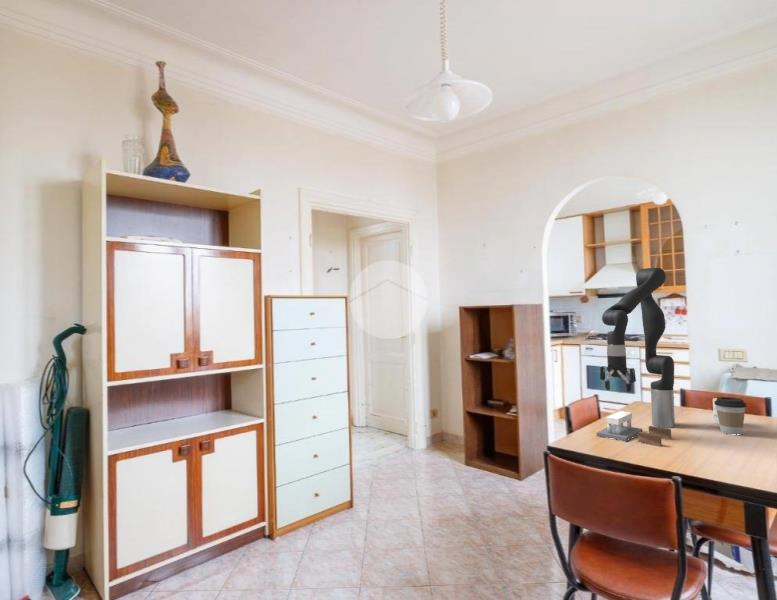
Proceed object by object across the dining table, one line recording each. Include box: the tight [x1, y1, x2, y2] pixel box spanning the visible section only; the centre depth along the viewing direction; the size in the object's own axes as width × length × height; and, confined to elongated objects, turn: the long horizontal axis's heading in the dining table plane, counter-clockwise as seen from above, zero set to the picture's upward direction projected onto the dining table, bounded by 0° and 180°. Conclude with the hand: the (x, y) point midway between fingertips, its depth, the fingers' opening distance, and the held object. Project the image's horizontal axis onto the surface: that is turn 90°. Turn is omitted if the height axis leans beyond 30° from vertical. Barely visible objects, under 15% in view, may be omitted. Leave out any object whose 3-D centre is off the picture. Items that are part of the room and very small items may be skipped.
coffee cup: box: [714, 396, 747, 436], centre depth 193 cm, size 11×11×15 cm
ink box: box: [712, 397, 720, 425], centre depth 206 cm, size 9×5×12 cm, turn 179°
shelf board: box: [605, 410, 633, 425], centre depth 195 cm, size 16×5×2 cm, turn 132°
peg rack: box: [596, 419, 643, 442], centre depth 195 cm, size 20×12×6 cm, turn 132°
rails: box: [637, 425, 672, 447], centre depth 184 cm, size 15×8×4 cm, turn 132°
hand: (618, 390), depth 195 cm, fingers open, 8 cm apart
